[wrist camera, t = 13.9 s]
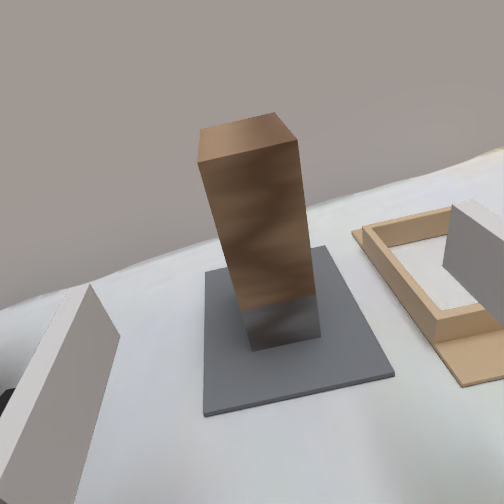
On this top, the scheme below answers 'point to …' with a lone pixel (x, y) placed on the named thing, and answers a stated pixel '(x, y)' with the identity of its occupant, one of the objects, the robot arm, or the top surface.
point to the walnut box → (262, 227)
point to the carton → (424, 309)
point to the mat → (286, 347)
